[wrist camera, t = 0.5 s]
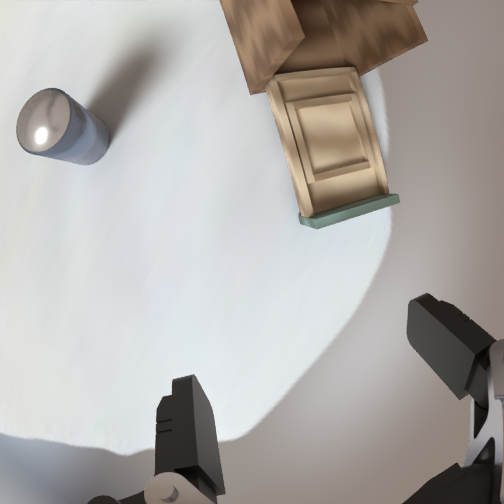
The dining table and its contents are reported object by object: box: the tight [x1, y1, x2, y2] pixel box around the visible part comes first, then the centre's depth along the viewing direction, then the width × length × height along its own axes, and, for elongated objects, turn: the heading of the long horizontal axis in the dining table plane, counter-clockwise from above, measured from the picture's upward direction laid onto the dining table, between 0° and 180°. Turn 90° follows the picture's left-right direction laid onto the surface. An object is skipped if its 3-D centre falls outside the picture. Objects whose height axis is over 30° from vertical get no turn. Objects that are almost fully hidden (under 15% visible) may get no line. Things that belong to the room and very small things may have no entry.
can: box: [16, 88, 110, 165], centre depth 24 cm, size 5×5×12 cm
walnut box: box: [220, 0, 428, 95], centre depth 23 cm, size 16×14×16 cm
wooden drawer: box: [265, 67, 400, 229], centre depth 32 cm, size 17×11×5 cm, turn 16°
